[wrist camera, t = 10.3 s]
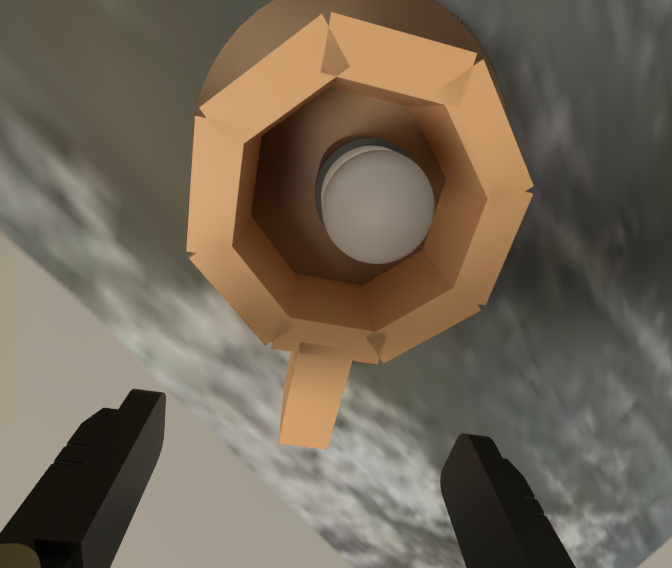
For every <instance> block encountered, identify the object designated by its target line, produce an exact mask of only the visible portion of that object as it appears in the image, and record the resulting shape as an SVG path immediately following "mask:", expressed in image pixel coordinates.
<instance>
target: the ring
mask: <svg viewBox="0 0 672 568" xmlns="http://www.w3.org/2000/svg"><path fill="white" fill-rule="evenodd" d="M476 55H477V53H475V52H471V51H468V50H464V49H461V48H457V47H454V46H450V45H446V44H443V43H439V42H436V41H432V40H429V39H425V38H422V37H418V36H415V35H411V34H408V33H404V32H400V31H397V30H393V29H390V28H386V27H383V26H379V25H376V24H372V23H369V22H365V21H361V20H358V19H354V18H351V17H347V16H344V15H340V14H337V13H333V12H331V16H330V22H329V26H328V24H327V22H326V21H325V19H324V17H323V15H322V14H321V15H320V16H318V17H317V18H316V19H314V20H313V21H312V22H311V23H309V24H308V25H307V26H305V27H304V28H303V29H301V30H300V31H299V32H297V33H296V34H295V35H294V36H292V37H291V38H290V39H288V40H287V41H286V42H284V43H283V44H282V45H280V46H279V47H278V48H277V49H275V50H274V51H273V52H271V53H270V54H269V55H267V56H266V57H265V58H263V59H262V60H261V61H260V62H258V63H257V64H256V65H254V66H253V67H252V68H250V69H249V70H248V71H246V72H245V73H244V74H243V75H241V76H240V77H239V78H237V79H236V80H235V81H233V82H232V83H231V84H229V85H228V86H227V87H226V88H224V89H223V90H222V91H220V92H219V93H218V94H216V95H215V96H214V97H212V98H211V99H210V100H209V101H207V102H206V103H205V104H203V105H202V106H201V107H199V108H200V110H201V111H202V112H203V114H204V115H205V116H195V125H194V141H193V157H192V172H191V188H190V204H189V219H188V235H187V251H188V252H194V253H193V254H192V255H191V257H190V258H189V259H190V260H191V261H192V262H193V263H194V264H195V266H196V267H197V268H198V269H199V270H200V271H201V272H202V274H203V275H204V276H205V277H206V278H207V279H208V280H209V282H210V283H211V284H212V285H213V286H214V287H215V288H216V290H217V291H218V292H219V293H220V294H221V295H222V296H223V298H224V299H225V300H226V301H227V302H228V303H229V304H230V306H231V307H232V308H233V309H234V310H235V311H236V312H237V314H238V315H239V316H240V317H241V318H242V319H243V320H244V322H245V323H246V324H247V325H248V326H249V327H250V328H251V330H252V331H253V332H254V333H255V334H256V335H257V336H258V338H259V339H260V340H261V341H262V342H263V343H264V344H265V345H267V344H268V343H270V342H272V346H271V348H272V349H278V350H285V351H291V354H290V359H289V364H288V368H287V373H286V378H285V385H284V394H283V404H282V413H281V422H280V432H279V441H278V444H286V445H294V446H303V447H312V448H320V449H327V448H328V444H329V441H330V437H331V434H332V430H333V427H334V423H335V420H336V416H337V413H338V409H339V406H340V402H341V399H342V395H343V392H344V388H345V385H346V381H347V378H348V374H349V371H350V367H351V364H352V361H358V362H364V363H371V364H378V361H379V358H380V359H381V360H382V362H383V363H385V362H387V361H389V360H391V359H393V358H395V357H396V356H398V355H400V354H402V353H404V352H406V351H407V350H409V349H411V348H413V347H415V346H417V345H418V344H420V343H422V342H424V341H426V340H428V339H429V338H431V337H433V336H435V335H437V334H439V333H441V332H442V331H444V330H446V329H448V328H450V327H452V326H453V325H455V324H457V323H459V322H461V321H463V320H464V319H466V318H468V317H470V316H472V315H474V314H475V313H477V312H479V311H481V310H480V308H479V306H478V304H480V305H486V303H487V301H488V299H489V296H490V294H491V292H492V289H493V287H494V285H495V282H496V280H497V278H498V275H499V273H500V271H501V268H502V266H503V264H504V261H505V259H506V257H507V254H508V252H509V250H510V247H511V245H512V243H513V240H514V238H515V236H516V233H517V231H518V229H519V226H520V224H521V222H522V219H523V217H524V215H525V212H526V210H527V208H528V205H529V203H530V201H531V198H532V196H533V193H530V192H527V191H526V190H528V189H530V188H531V187H533V186H534V185H533V183H532V180H531V178H530V175H529V173H528V170H527V168H526V165H525V163H524V160H523V158H522V155H521V153H520V150H519V147H518V145H517V142H516V140H515V137H514V135H513V132H512V130H511V127H510V125H509V122H508V120H507V117H506V115H505V112H504V110H503V107H502V104H501V102H500V99H499V97H498V94H497V92H496V89H495V87H494V84H493V82H492V79H491V77H490V74H489V72H488V69H487V67H486V64H485V61H484V59H483V60H480V61H477V62H475V59H476ZM329 87H332V88H336V89H340V90H344V91H348V92H352V93H356V94H360V95H364V96H368V97H372V98H376V99H380V100H384V101H388V102H392V103H395V104H399V105H403V106H407V107H411V108H412V110H413V112H414V114H415V116H416V118H417V121H418V123H419V125H420V127H421V129H422V131H423V133H424V135H425V137H426V139H427V141H428V143H429V145H430V147H431V149H432V151H433V153H434V155H435V157H436V159H437V161H438V163H439V165H440V167H441V169H442V171H443V173H444V175H445V177H446V181H445V184H444V187H443V190H442V193H441V196H440V199H439V202H438V205H437V208H436V211H435V214H434V217H433V220H432V224H431V227H430V229H429V232H428V235H427V238H426V242H425V245H424V248H423V250H421V251H420V252H418V253H416V254H415V255H413V256H411V257H410V258H408V259H406V260H405V261H403V262H401V263H400V264H398V265H396V266H395V267H393V268H391V269H390V270H388V271H386V272H384V273H383V274H381V275H379V276H378V277H376V278H374V279H373V280H371V281H369V282H368V283H366V284H364V285H363V286H362V285H356V284H351V283H345V282H340V281H334V280H329V279H323V278H317V277H312V276H306V275H301V274H295V273H294V272H293V270H292V269H291V268H290V266H289V265H288V264H287V262H286V261H285V260H284V259H283V257H282V256H281V255H280V253H279V252H278V251H277V249H276V248H275V247H274V245H273V244H272V243H271V241H270V240H269V239H268V237H267V236H266V235H265V233H264V232H263V231H262V229H261V228H260V227H259V225H258V224H257V223H256V221H255V220H254V219H253V217H252V216H251V213H252V205H253V197H254V190H255V182H256V175H257V167H258V159H259V152H260V144H261V137H262V136H263V135H264V134H266V133H267V132H268V131H270V130H271V129H272V128H274V127H275V126H277V125H278V124H279V123H281V122H282V121H284V120H285V119H286V118H288V117H289V116H291V115H292V114H293V113H295V112H296V111H297V110H299V109H300V108H302V107H303V106H304V105H306V104H307V103H309V102H310V101H311V100H313V99H314V98H316V97H317V96H318V95H320V94H321V93H323V92H324V91H325V90H327V89H328V88H329Z"/></svg>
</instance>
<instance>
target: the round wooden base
mask: <svg viewBox="0 0 672 568" xmlns="http://www.w3.org/2000/svg"><path fill="white" fill-rule="evenodd" d="M331 12H333V13H337V14H340V15H344V16H347V17H351V18H354V19H358V20H361V21H365V22H369V23H372V24H376V25H379V26H383V27H386V28H390V29H393V30H397V31H400V32H404V33H408V34H411V35H415V36H418V37H422V38H425V39H429V40H432V41H436V42H439V43H443V44H446V45H450V46H454V47H457V48H461V49H464V50H468V51H471V52H475V53H477V55H476V59H475V62H477V61H480V60H483V59H484V61H485V64H486V67H487V69H488V72H489V74H490V77H491V79H492V82H493V84H494V87H495V89H496V92H497V94H498V97H499V99H500V102H501V104H502V107H503V110H504V112H505V115H506V110H505V104H504V99H503V95H502V92H501V89H500V86H499V83H498V80H497V77H496V75H495V73H494V70H493V68H492V66H491V64H490V62H489V60H488V58H487V56H486V54H485V53H484V51H483V50H482V48H481V47H480V45H479V44H478V42H477V41H476V39H475V38H474V36H473V35H472V34H471V33H470V32H469V31H468V30H467V29H466V27H465V26H464V25H463V24H462V23H461V22H460V21H459V20H458V19H457V18H456V17H455V16H453V15H452V14H451V13H450V12H449V11H447V10H446V9H445V8H444V7H443V6H441V5H440V4H438V3H437V2H435V1H433V0H273V1H271V2H270V3H268V4H267V5H265V6H264V7H262V8H261V9H259V10H258V11H257V12H255V13H254V14H253V15H252V16H251V17H250V18H249V19H248V20H247V21H246V22H245V23H244V24H242V25H241V26H240V27H239V28H238V29H237V30H236V32H235V33H234V34H233V35H232V37H231V38H230V39H229V40H228V42H227V43H226V44H225V45H224V47H223V48H222V50H221V51H220V53H219V55H218V56H217V58H216V60H215V62H214V63H213V65H212V67H211V68H210V70H209V73H208V75H207V78H206V80H205V82H204V85H203V87H202V90H201V93H200V96H199V100H198V104H197V108H196V111H195V116H205V115H204V114H203V112H202V111H201V110H200V108H199V107H201V106H202V105H203V104H205V103H206V102H207V101H209V100H210V99H211V98H212V97H214V96H215V95H216V94H218V93H219V92H220V91H222V90H223V89H224V88H226V87H227V86H228V85H229V84H231V83H232V82H233V81H235V80H236V79H237V78H239V77H240V76H241V75H243V74H244V73H245V72H246V71H248V70H249V69H250V68H252V67H253V66H254V65H256V64H257V63H258V62H260V61H261V60H262V59H263V58H265V57H266V56H267V55H269V54H270V53H271V52H273V51H274V50H275V49H277V48H278V47H279V46H280V45H282V44H283V43H284V42H286V41H287V40H288V39H290V38H291V37H292V36H294V35H295V34H296V33H297V32H299V31H300V30H301V29H303V28H304V27H305V26H307V25H308V24H309V23H311V22H312V21H313V20H314V19H316V18H317V17H318V16H320V15H321V14H322V15H323V17H324V19H325V21H326V22H327V24H328V26H329V22H330V16H331ZM195 116H194V124H193V132H192V157H193V141H194V125H195ZM506 117H507V115H506ZM445 181H446V177H445V175H444V173H443V171H442V169H441V167H440V165H439V163H438V161H437V159H436V157H435V155H434V153H433V151H432V149H431V147H430V145H429V143H428V141H427V139H426V137H425V135H424V133H423V131H422V129H421V127H420V125H419V123H418V121H417V118H416V116H415V114H414V112H413V110H412V108H411V107H407V106H403V105H399V104H395V103H392V102H388V101H384V100H380V99H376V98H372V97H368V96H364V95H360V94H356V93H352V92H348V91H344V90H340V89H336V88H332V87H329V88H328V89H327V90H325V91H324V92H323V93H321V94H320V95H318V96H317V97H316V98H314V99H313V100H311V101H310V102H309V103H307V104H306V105H304V106H303V107H302V108H300V109H299V110H297V111H296V112H295V113H293V114H292V115H291V116H289V117H288V118H286V119H285V120H284V121H282V122H281V123H279V124H278V125H277V126H275V127H274V128H272V129H271V130H270V131H268V132H267V133H266V134H264V135H263V136H262V137H261V144H260V152H259V159H258V167H257V175H256V182H255V190H254V197H253V205H252V213H251V216H252V217H253V219H254V220H255V221H256V223H257V224H258V225H259V227H260V228H261V229H262V231H263V232H264V233H265V235H266V236H267V237H268V239H269V240H270V241H271V243H272V244H273V245H274V247H275V248H276V249H277V251H278V252H279V253H280V255H281V256H282V257H283V259H284V260H285V261H286V262H287V264H288V265H289V266H290V268H291V269H292V270H293V272H294V273H295V274H301V275H306V276H312V277H317V278H323V279H329V280H334V281H340V282H345V283H351V284H356V285H362V286H363V285H364V284H366V283H368V282H369V281H371V280H373V279H374V278H376V277H378V276H379V275H381V274H383V273H384V272H386V271H388V270H390V269H391V268H393V267H395V266H396V265H398V264H400V263H401V262H403V261H405V260H406V259H408V258H410V257H411V256H413V255H415V254H416V253H418V252H420V251H421V250H423V248H424V245H425V242H426V238H427V235H428V232H429V229H430V227H431V224H432V220H433V217H434V214H435V211H436V208H437V205H438V202H439V199H440V196H441V193H442V190H443V187H444V184H445Z"/></svg>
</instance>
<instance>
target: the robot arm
mask: <svg viewBox="0 0 672 568" xmlns="http://www.w3.org/2000/svg"><path fill="white" fill-rule="evenodd" d="M165 406H166V395H165V393H162V392H155V391H147V390H140V389H132V390H131V391H130V392H129V394H128V395H127V397H126V398H125V400H124V401H123V403H122V405H121V406H120V408H119V409H110V408H102V409H101V410H99V411H98V412H97V413H95V414H94V415H92V416H91V417H90V418H88V419H87V420H86V421H84V422H83V423H82V424H81V425H80V426H79V428H78V429H77V430H76V432H75V433H74V434H73V436H72V437H71V439H70V440H69V441H68V443H67V446H66V447H64V448H63V449H62V451H61V452H60V453H59V455H58V456H57V457H56V459H55V461H54V463H53V464H51V465H50V467H49V468H48V469H47V471H46V472H45V473H44V475H43V476H42V477H41V479H40V480H39V482H38V483H37V484H36V486H35V487H34V489H33V490H32V491H31V492H30V494H29V495H28V496H27V498H26V499H25V500H24V502H23V503H22V504H21V506H20V507H19V509H18V510H17V511H16V513H15V514H14V515H13V517H12V518H11V519H10V521H9V522H8V523H7V525H6V526H5V527H4V529H3V530H2V531H1V533H0V568H110V567H111V564H112V562H113V560H114V557H115V555H116V553H117V551H118V548H119V546H120V544H121V542H122V540H123V537H124V535H125V533H126V531H127V529H128V526H129V524H130V522H131V519H132V517H133V515H134V513H135V511H136V508H137V506H138V504H139V502H140V499H141V497H142V495H143V493H144V490H145V488H146V486H147V484H148V481H149V479H150V477H151V475H152V473H153V470H154V468H155V466H156V463H157V461H158V458H159V456H160V452H161V449H162V445H163V439H164V427H165ZM440 485H441V492H442V496H443V499H444V502H445V505H446V508H447V511H448V514H449V517H450V520H451V523H452V526H453V529H454V532H455V535H456V538H457V541H458V544H459V547H460V550H461V553H462V556H463V559H464V562H465V565H466V568H576V567H575V565H574V564H573V562H572V560H571V558H570V557H569V555H568V553H567V551H566V550H565V548H564V546H563V544H562V543H561V541H560V539H559V537H558V536H557V534H556V532H555V530H554V529H553V527H552V525H551V523H550V522H549V520H548V518H547V516H544V511H543V509H542V508H541V506H540V504H539V502H538V501H537V500H535V498H534V496H535V495H534V494H533V492H532V490H531V488H530V487H529V485H528V483H527V482H526V480H525V478H524V476H523V475H522V474H521V473H520V472H519V471H518V470H517V469H516V468H515V467H514V466H513V465H512V463H511V462H510V461H509V460H508V459H503V458H502V456H501V454H500V452H499V450H498V449H497V447H496V445H495V443H494V441H493V440H492V439H491V438H490V437H487V436H479V435H472V434H464V433H463V434H461V435H459V437H458V438H457V440H456V442H455V444H454V446H453V448H452V451H451V453H450V455H449V457H448V459H447V461H446V463H445V465H444V467H443V469H442V472H441V479H440Z"/></svg>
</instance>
